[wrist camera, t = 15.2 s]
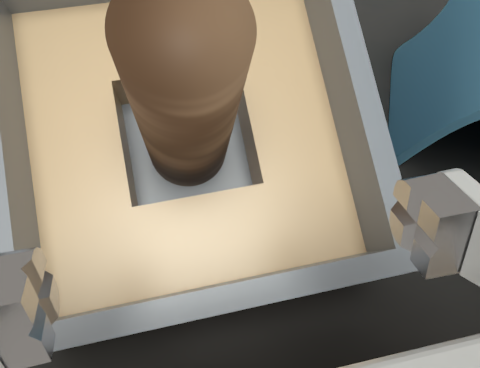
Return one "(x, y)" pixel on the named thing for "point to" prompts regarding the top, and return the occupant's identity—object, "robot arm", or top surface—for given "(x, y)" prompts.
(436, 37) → the blue curved piece
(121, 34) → the peg
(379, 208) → the bore box
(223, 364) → the top surface
